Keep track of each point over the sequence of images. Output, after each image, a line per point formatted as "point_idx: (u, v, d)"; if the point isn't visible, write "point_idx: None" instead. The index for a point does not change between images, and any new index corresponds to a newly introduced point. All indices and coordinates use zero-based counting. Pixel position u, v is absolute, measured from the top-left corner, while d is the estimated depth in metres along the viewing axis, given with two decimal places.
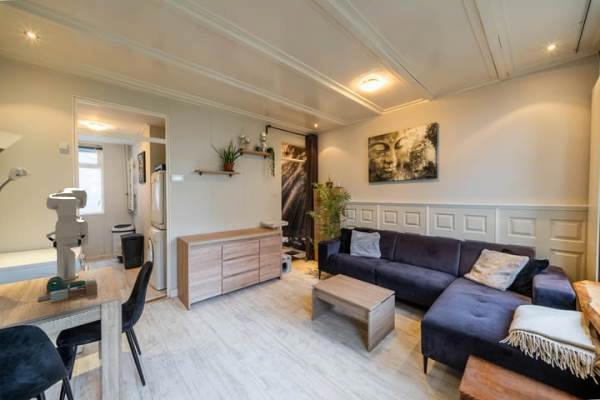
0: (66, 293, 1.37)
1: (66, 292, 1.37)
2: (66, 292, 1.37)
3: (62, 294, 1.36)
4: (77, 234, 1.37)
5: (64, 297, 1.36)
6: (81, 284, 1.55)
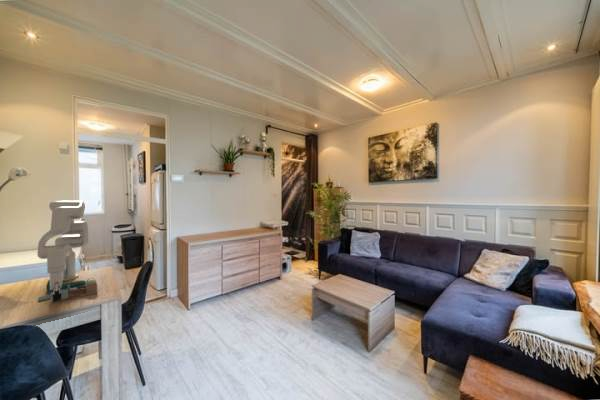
0: (66, 293, 1.37)
1: (66, 292, 1.37)
2: (66, 292, 1.37)
3: (62, 294, 1.36)
4: None
5: (64, 297, 1.36)
6: (81, 284, 1.55)
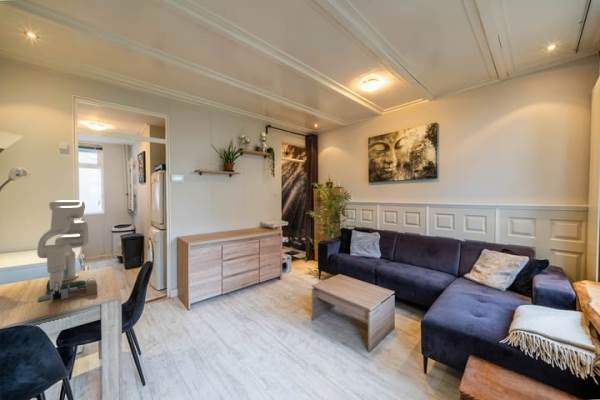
0: (66, 293, 1.37)
1: (66, 292, 1.37)
2: (66, 292, 1.37)
3: (62, 294, 1.36)
4: None
5: (64, 297, 1.37)
6: (81, 284, 1.55)
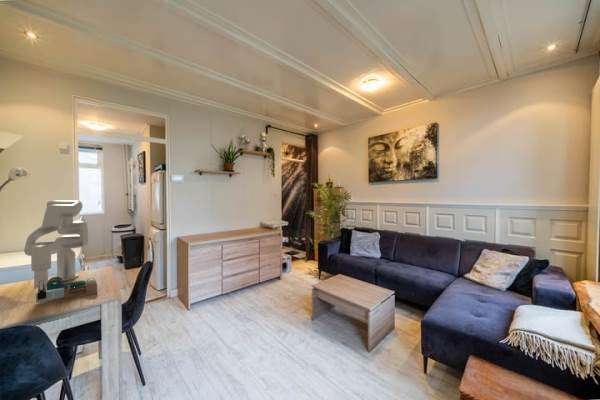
0: (52, 293, 1.33)
1: (52, 292, 1.33)
2: (53, 292, 1.33)
3: (48, 294, 1.32)
4: None
5: (50, 297, 1.33)
6: (81, 284, 1.55)
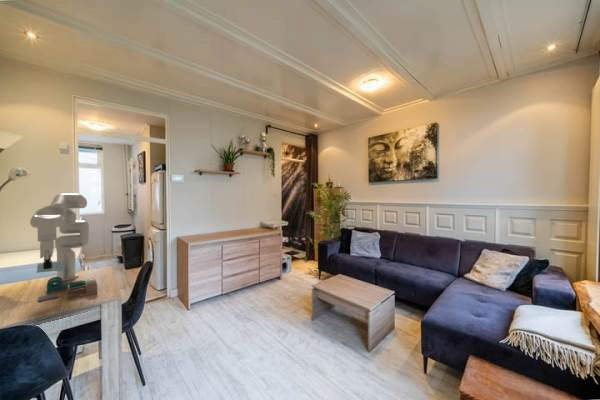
0: (53, 265, 1.37)
1: (53, 264, 1.37)
2: (53, 265, 1.37)
3: None
4: None
5: (50, 269, 1.36)
6: (81, 284, 1.55)
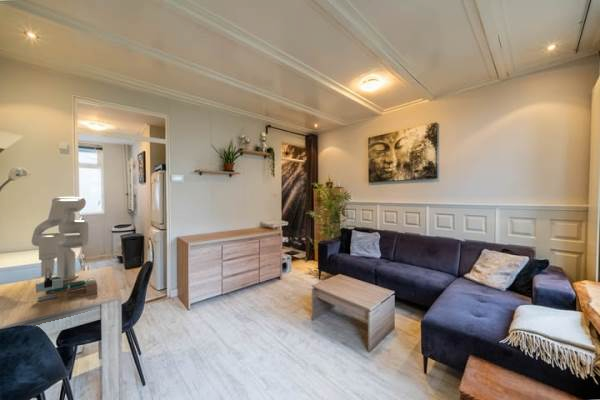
0: None
1: None
2: (52, 283, 1.37)
3: None
4: None
5: (50, 288, 1.36)
6: (81, 284, 1.55)
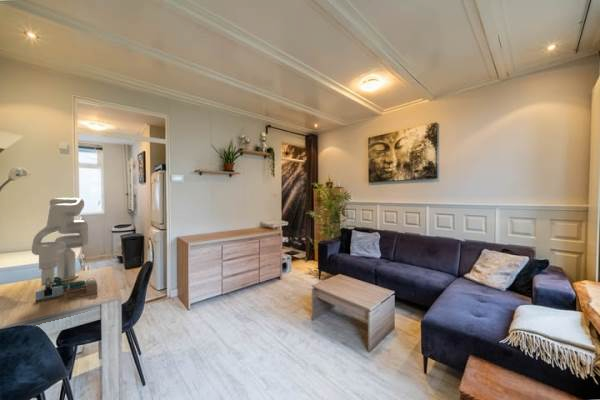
0: None
1: None
2: (52, 290, 1.37)
3: None
4: None
5: None
6: (81, 284, 1.55)
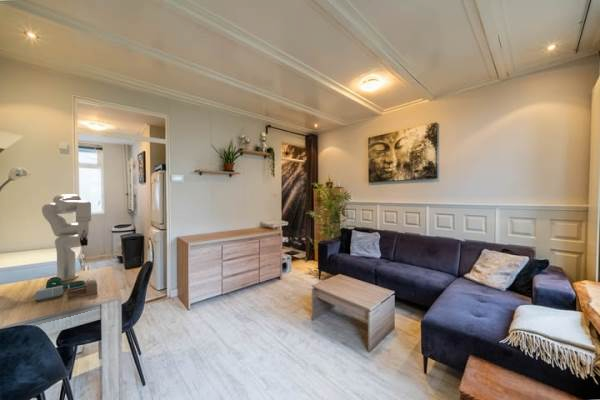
0: (51, 291, 1.37)
1: (51, 290, 1.37)
2: (52, 290, 1.37)
3: (47, 292, 1.36)
4: None
5: (49, 295, 1.37)
6: (81, 284, 1.55)
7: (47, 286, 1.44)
